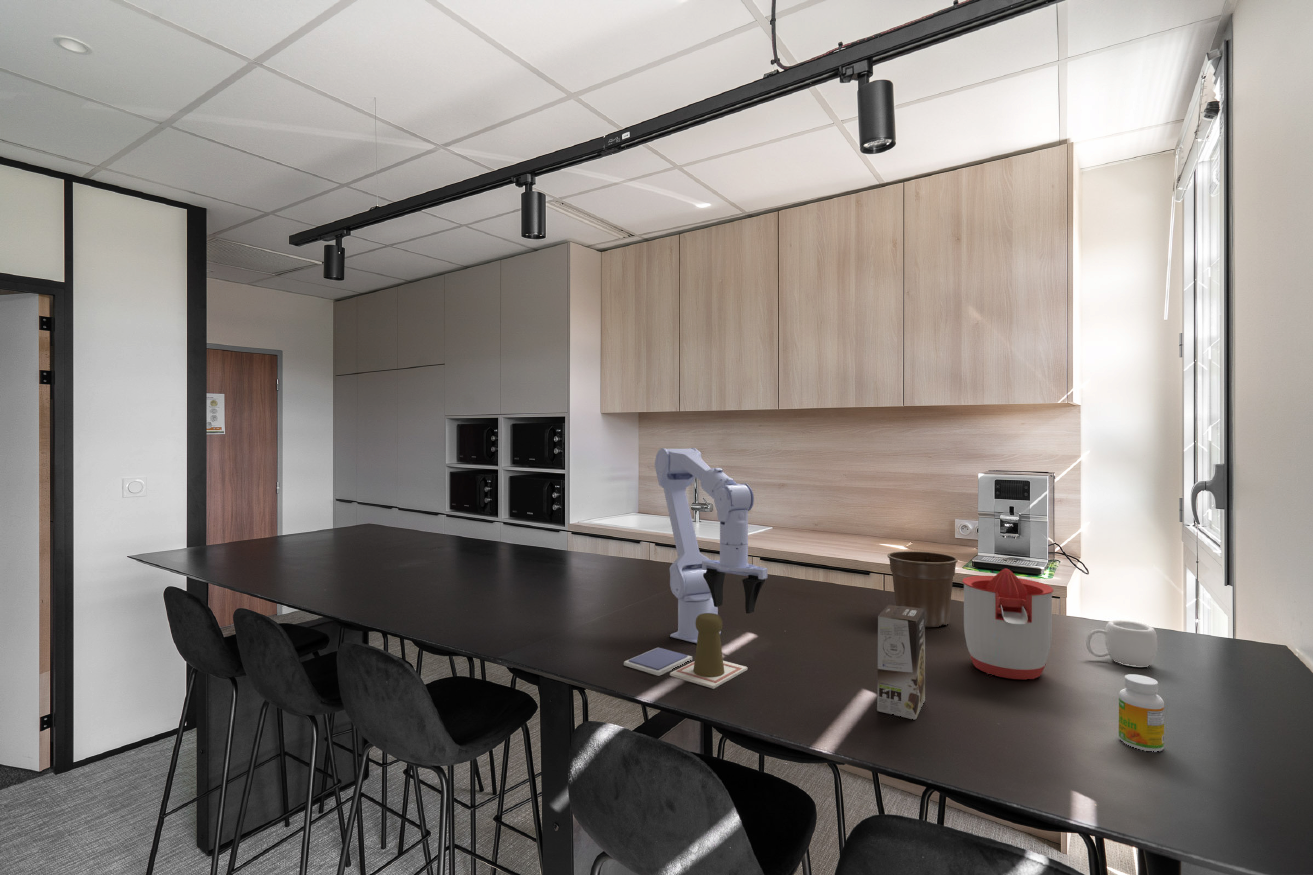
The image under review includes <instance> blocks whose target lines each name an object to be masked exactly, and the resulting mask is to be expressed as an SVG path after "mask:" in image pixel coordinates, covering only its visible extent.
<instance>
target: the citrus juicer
mask: <svg viewBox="0 0 1313 875" xmlns="http://www.w3.org/2000/svg"><path fill="white" fill-rule="evenodd" d="M961 583H963V628H964V631H963V632H964V637H965V641H966V642H965V643H966V646H967V649H968V650H967V651H968V654H969V657H970V659H971V662H972V664H973V666H974V667H975V668H976V669H978V670H980V671H981V672H984V673H985V672H986V673H989V674H992V675H995V676H994V677H996V676H997V677H1000V678H1004V679H1005V678H1006V679H1010V680H1011V679H1012V680H1027V679H1033V680H1034V679H1036V678H1040V676H1041V675H1042V673H1043V672H1044V669H1045V667H1046V664H1047V660H1048V657H1049V656H1050V655H1049V654H1050V650H1051V644H1052V631H1053V629H1052V628H1053V627H1052V626H1053V625H1052V624H1053V623H1052V622H1053V621H1052V617H1053V616H1052V615H1053V614H1052V610H1053V608H1052V607H1053V604H1052V602H1053V600H1052V599H1053V592H1054V589H1053V587H1052V586H1050V585H1048V584H1046V583H1043V582H1039V581H1035V580H1032V579H1031V580H1030V579H1027V578H1026V579H1025V578H1020V577H1018V576H1016V574H1015V573H1013V571H1011V570H1010V568H1009V569H1008V568H1003V569H1001V570H1000V571H999V572H998V573H997V574H996V575H972V576H967V577H964V578H963V579H962V582H961ZM986 673H985V674H986ZM992 675H991V676H992Z"/></svg>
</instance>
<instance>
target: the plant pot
mask: <svg viewBox="0 0 1313 875" xmlns="http://www.w3.org/2000/svg"><path fill="white" fill-rule="evenodd" d="M886 555H887V558H888V560H889V566H890V572H891V574H892V584H893V591H894V592H893V594H894V606H905V607H914V608H921V609H925V628H939V626H940V627H941V626H944V625H946V626H948V625H949V624H950V617H951V616H950V615H951V605H952V604H951V602H952V593H953V592H952V591H953V582H954V577H955V573H956V566H957V564H956V563H958V562H959V559H958V557H956V556H954V555H949V554H944V553H938V552H933V551H932V552H930V551H915V550H914V551H913V550H910V551H909V550H908V551H905V550H904V551H902V550H901V551H892V552H889V553H888V554H886ZM947 624H948V625H947Z"/></svg>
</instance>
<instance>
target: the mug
mask: <svg viewBox="0 0 1313 875" xmlns="http://www.w3.org/2000/svg"><path fill="white" fill-rule="evenodd" d="M1104 629H1105V630H1104ZM1104 629H1101V628H1099V629H1093V630H1092V631H1091V630H1090V632H1089V633H1088V634H1087V637H1086V640H1085V645H1086V649H1087V651H1088V652H1089V654H1090V655H1092V656H1094V657H1097V658H1105V657H1107V656H1109V658H1112V659H1113V660H1115V661H1117V662H1121V663H1123V664H1129V665H1136V666H1147V665H1150V666H1152V665H1153V663H1154V661H1155V659H1156V657H1157V654H1158V636H1157V632H1156V630H1155V628H1154V627H1153V626H1150V625H1147V624H1145V623H1142V622H1137V621H1131V620H1124V619H1122V620H1119V619H1117V620H1116V619H1115V620H1109V621H1108V622H1107V624H1106V626H1105V628H1104ZM1095 634H1103V635H1104V641H1105V646H1106V650H1107V651H1105V652H1103V653H1098V652H1095V651H1094V650H1093V649H1092V647H1091V639H1092V638H1093V636H1094V635H1095ZM1112 659H1111V660H1112ZM1113 660H1112V661H1113Z"/></svg>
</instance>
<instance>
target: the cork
mask: <svg viewBox="0 0 1313 875" xmlns="http://www.w3.org/2000/svg"><path fill="white" fill-rule="evenodd" d="M696 629H697V630H698V639H697V643H696V648H695V655H694V661H695V662H694V661H693V662H694V669H693V672H694V673H695V674H696V675H698V676H702V677H718V676H721V675H723V674H724V673H725V672H724V664H723V661H724V657H723V651H722V650H723V649H722V643H721V634H720V633H719V632H722V630H723V620H722V617H721V616H720V615H719V614H718V615H717V614H713V613H703V614H700V615H698V616H697V618H696Z"/></svg>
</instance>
